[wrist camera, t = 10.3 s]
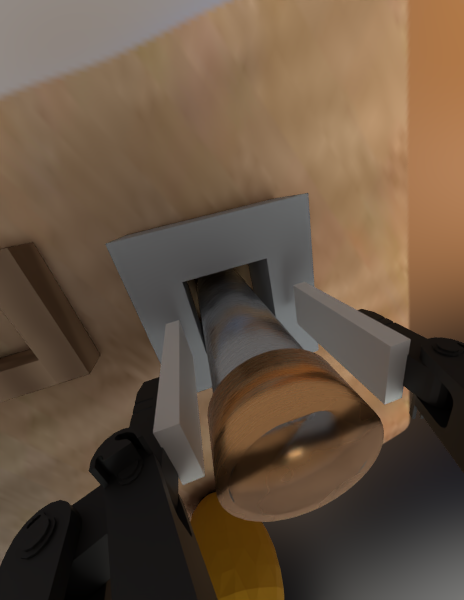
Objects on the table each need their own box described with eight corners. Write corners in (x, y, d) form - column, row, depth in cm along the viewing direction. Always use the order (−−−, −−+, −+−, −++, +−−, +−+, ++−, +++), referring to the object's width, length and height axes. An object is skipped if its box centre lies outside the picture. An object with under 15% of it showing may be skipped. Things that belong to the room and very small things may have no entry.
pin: (201, 315, 20) (237, 540, 6) (186, 268, 18) (191, 444, 4) (248, 302, 20) (378, 484, 7) (238, 254, 18) (390, 374, 5)
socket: (177, 359, 21) (177, 399, 16) (126, 235, 16) (105, 243, 12) (290, 322, 22) (318, 350, 18) (274, 198, 17) (308, 193, 13)
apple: (257, 464, 30) (307, 622, 19) (253, 508, 34) (292, 660, 23) (177, 484, 28) (175, 679, 16) (183, 528, 32) (185, 710, 20)
